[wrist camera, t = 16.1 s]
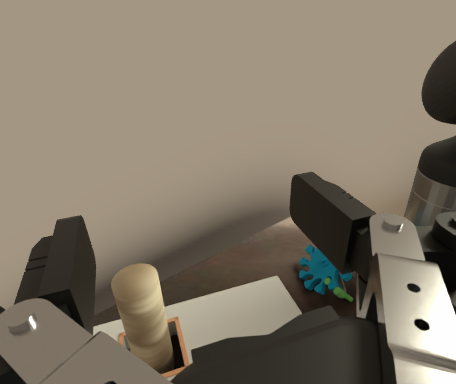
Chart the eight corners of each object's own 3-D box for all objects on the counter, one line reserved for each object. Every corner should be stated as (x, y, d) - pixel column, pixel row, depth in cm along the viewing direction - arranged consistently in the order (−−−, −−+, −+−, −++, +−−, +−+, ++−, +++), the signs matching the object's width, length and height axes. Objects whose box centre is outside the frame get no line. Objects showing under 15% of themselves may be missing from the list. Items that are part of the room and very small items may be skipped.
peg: (171, 343, 41) (154, 259, 34) (177, 376, 37) (160, 289, 30) (135, 354, 39) (111, 269, 33) (138, 389, 36) (111, 301, 29)
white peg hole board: (276, 287, 48) (277, 274, 47) (320, 357, 38) (323, 343, 37) (96, 340, 41) (91, 326, 40) (92, 442, 31) (85, 428, 30)
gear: (292, 249, 53) (342, 218, 49) (314, 265, 56) (364, 237, 51) (302, 308, 45) (364, 276, 40) (327, 324, 47) (389, 296, 42)
